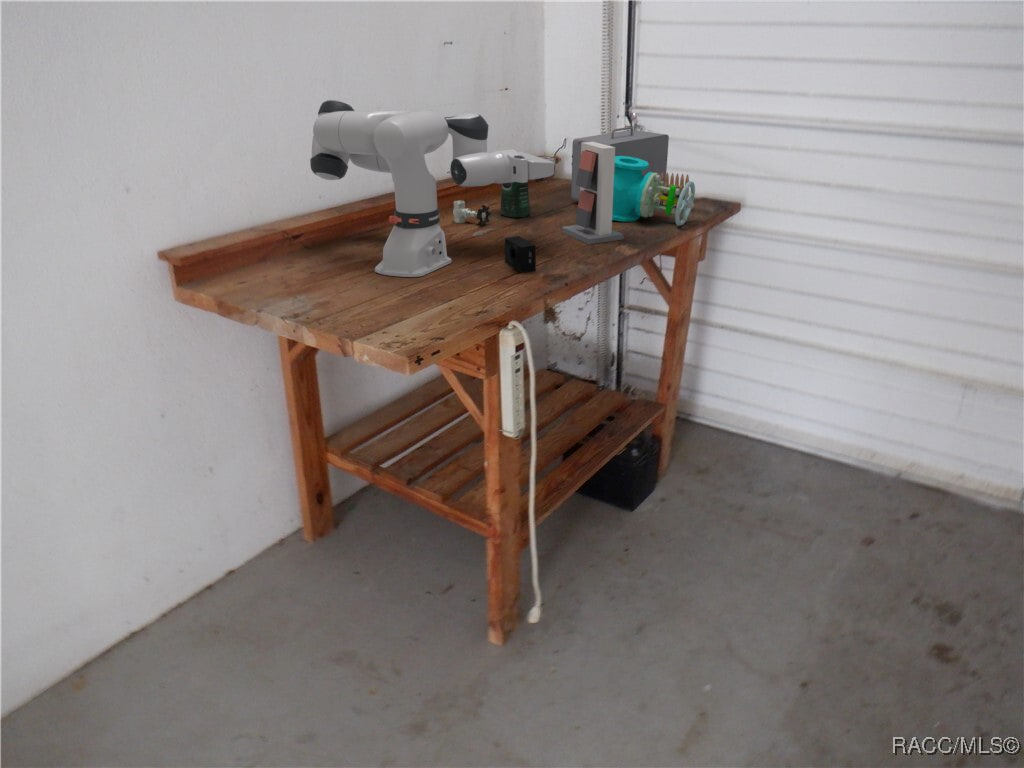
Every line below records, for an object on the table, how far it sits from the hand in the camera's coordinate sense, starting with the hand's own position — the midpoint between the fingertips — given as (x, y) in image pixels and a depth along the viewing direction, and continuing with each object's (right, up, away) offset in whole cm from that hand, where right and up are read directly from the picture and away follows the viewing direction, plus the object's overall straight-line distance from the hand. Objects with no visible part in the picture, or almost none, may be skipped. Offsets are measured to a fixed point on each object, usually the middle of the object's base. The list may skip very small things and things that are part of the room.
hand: (553, 161), depth 231 cm
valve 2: (+31, -11, +32) cm, 46 cm away
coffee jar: (-11, -7, +40) cm, 42 cm away
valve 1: (-25, -12, +31) cm, 42 cm away
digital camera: (-10, -32, -12) cm, 35 cm away
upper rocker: (+9, -5, +8) cm, 13 cm away
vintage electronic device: (+25, +2, +59) cm, 64 cm away
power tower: (+12, -18, +15) cm, 27 cm away
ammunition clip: (+43, -4, +47) cm, 64 cm away
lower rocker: (+9, -16, +13) cm, 23 cm away
